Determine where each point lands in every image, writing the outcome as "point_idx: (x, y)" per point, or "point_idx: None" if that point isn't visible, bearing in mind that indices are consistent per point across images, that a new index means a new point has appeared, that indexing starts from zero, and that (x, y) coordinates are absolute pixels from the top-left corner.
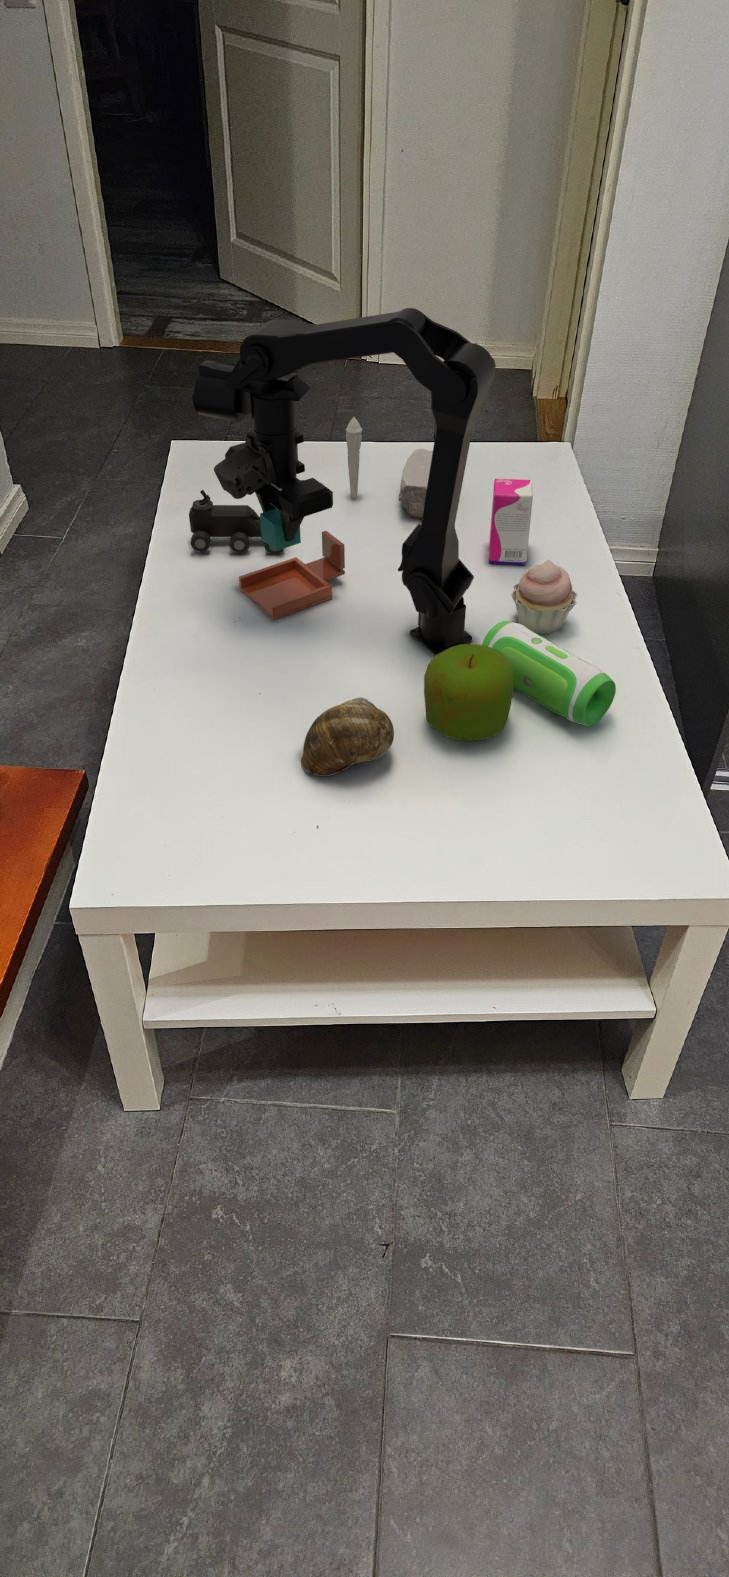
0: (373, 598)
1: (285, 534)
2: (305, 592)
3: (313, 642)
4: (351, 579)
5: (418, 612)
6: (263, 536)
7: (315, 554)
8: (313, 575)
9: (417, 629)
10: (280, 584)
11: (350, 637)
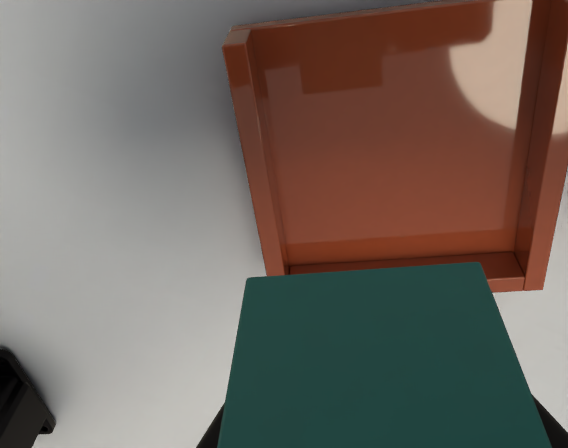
0: (223, 353)
1: (207, 446)
2: (339, 217)
3: (22, 103)
4: None
5: (5, 418)
6: (452, 292)
7: (561, 333)
8: None
9: (8, 372)
10: (450, 163)
11: (29, 222)
